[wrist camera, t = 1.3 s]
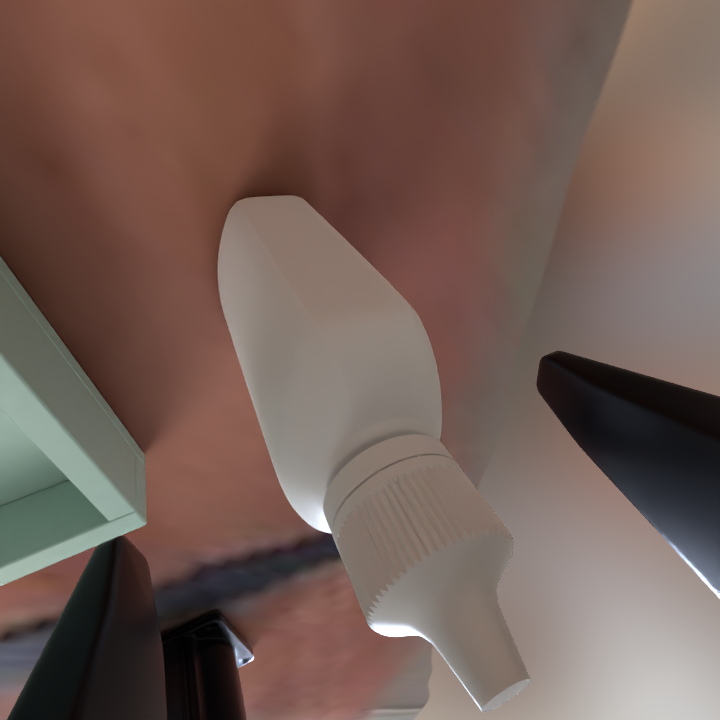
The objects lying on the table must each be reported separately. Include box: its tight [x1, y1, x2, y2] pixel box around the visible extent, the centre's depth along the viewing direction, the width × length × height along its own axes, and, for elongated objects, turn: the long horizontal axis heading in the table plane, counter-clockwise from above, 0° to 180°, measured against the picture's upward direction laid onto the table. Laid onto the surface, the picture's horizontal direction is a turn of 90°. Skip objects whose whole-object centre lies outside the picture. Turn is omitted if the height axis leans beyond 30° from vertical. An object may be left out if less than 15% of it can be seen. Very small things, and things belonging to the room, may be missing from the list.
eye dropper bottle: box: [218, 195, 531, 712], centre depth 10 cm, size 4×6×12 cm
